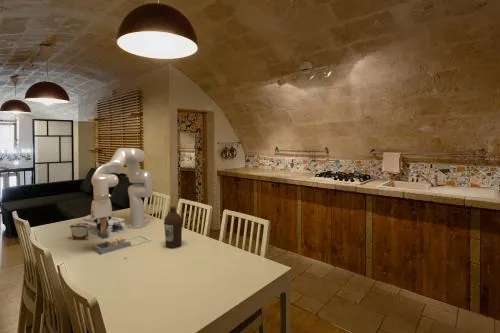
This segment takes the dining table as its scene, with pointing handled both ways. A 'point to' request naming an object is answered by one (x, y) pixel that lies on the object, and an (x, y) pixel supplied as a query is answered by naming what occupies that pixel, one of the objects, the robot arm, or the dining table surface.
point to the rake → (103, 229)
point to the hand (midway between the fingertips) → (102, 228)
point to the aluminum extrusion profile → (113, 225)
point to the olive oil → (173, 228)
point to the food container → (79, 231)
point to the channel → (104, 248)
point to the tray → (139, 242)
